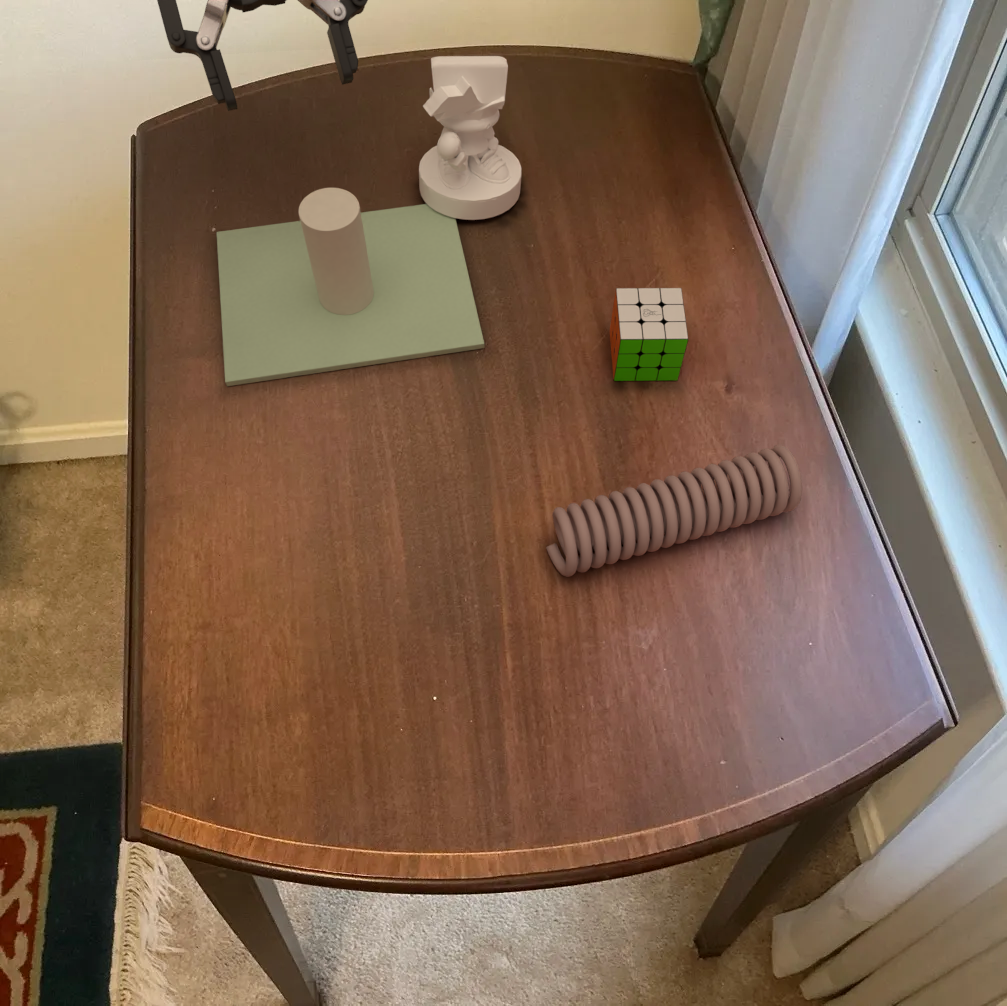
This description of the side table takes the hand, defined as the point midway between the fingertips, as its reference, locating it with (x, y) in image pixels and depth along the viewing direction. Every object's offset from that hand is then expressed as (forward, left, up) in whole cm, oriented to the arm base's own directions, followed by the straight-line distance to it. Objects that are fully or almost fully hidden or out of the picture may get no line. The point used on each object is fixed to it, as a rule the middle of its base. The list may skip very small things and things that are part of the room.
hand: (291, 95), depth 70 cm
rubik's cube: (+23, -17, -14) cm, 32 cm away
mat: (+1, -6, -14) cm, 15 cm away
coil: (+21, -32, -14) cm, 41 cm away
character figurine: (+13, +3, -14) cm, 19 cm away
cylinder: (+1, -7, -13) cm, 15 cm away
